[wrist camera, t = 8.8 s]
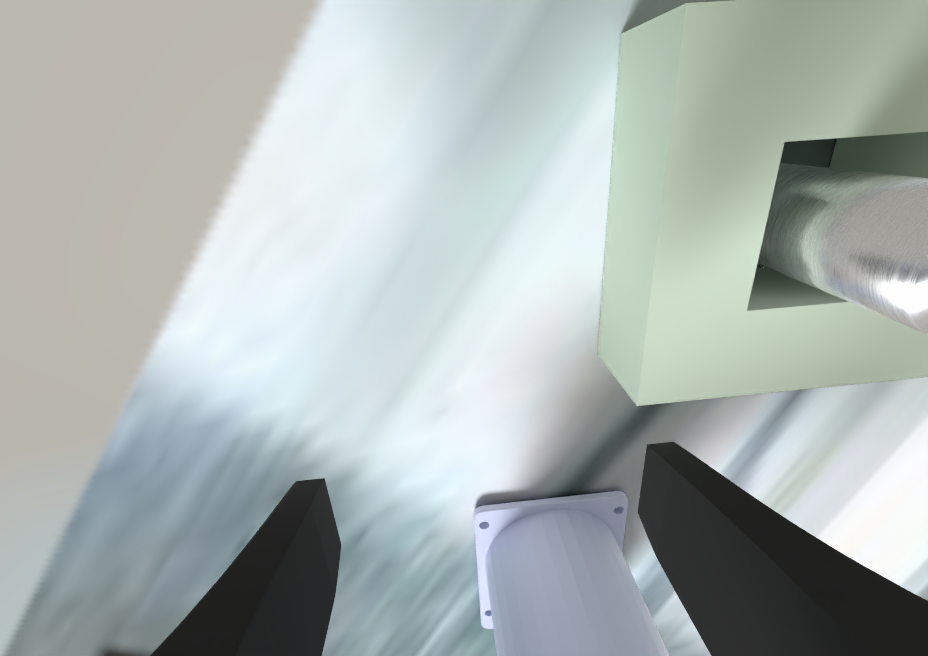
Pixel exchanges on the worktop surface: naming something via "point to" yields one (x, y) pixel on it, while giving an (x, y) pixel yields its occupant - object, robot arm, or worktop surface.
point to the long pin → (853, 237)
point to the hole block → (750, 192)
